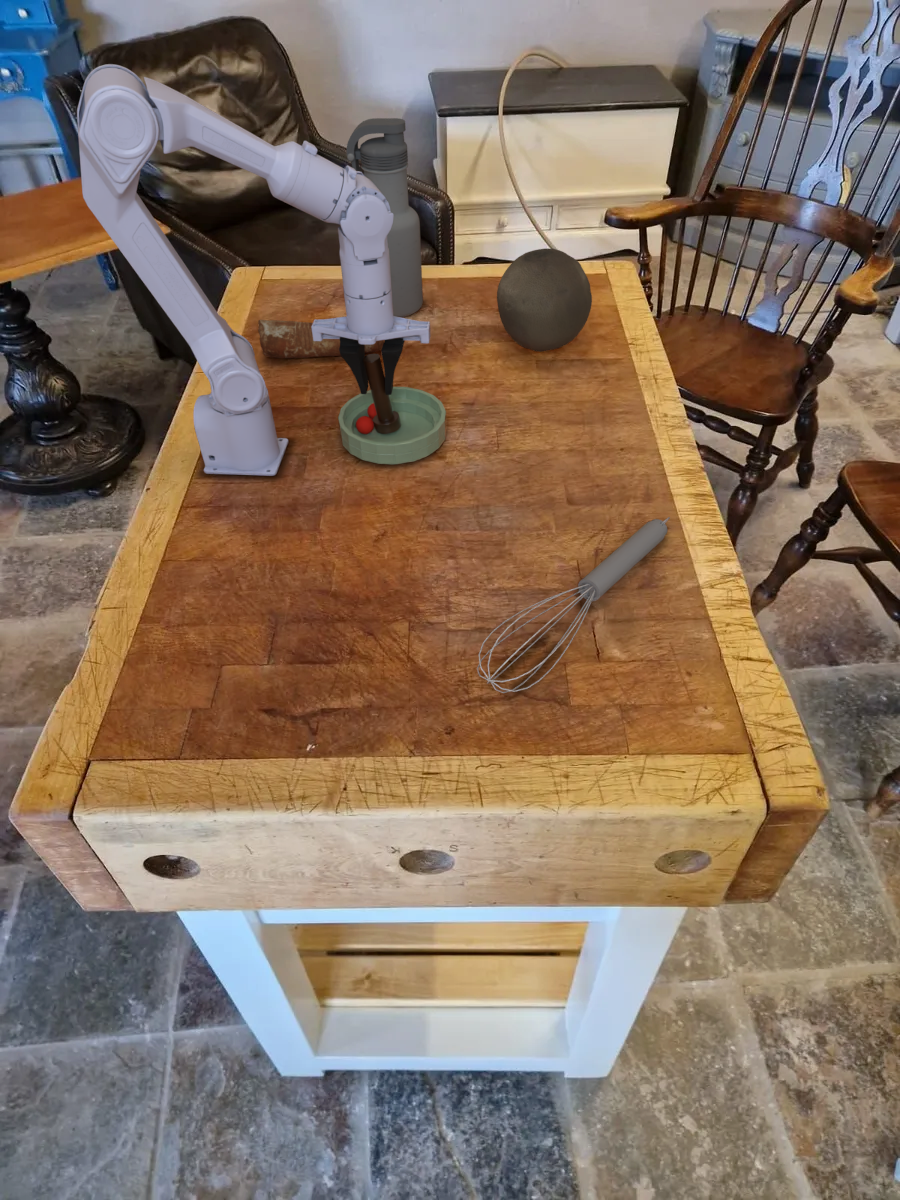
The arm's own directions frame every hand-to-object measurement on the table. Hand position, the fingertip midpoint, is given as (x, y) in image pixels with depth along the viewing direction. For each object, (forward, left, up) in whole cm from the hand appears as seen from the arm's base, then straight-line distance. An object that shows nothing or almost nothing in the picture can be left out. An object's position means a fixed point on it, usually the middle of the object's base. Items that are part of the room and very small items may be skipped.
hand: (376, 390), depth 105 cm
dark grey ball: (+22, +24, -7) cm, 33 cm away
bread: (-12, +22, -7) cm, 26 cm away
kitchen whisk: (+26, -32, -7) cm, 42 cm away
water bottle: (-3, +38, -7) cm, 39 cm away
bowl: (+2, -1, -6) cm, 7 cm away
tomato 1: (-2, -1, -5) cm, 5 cm away
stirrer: (+1, 0, -6) cm, 6 cm away
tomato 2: (-1, +2, -5) cm, 5 cm away
